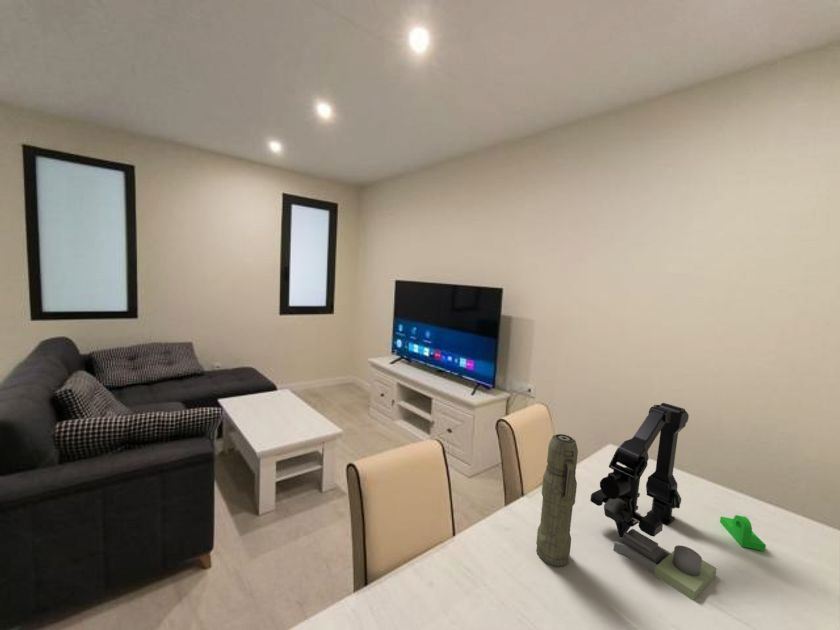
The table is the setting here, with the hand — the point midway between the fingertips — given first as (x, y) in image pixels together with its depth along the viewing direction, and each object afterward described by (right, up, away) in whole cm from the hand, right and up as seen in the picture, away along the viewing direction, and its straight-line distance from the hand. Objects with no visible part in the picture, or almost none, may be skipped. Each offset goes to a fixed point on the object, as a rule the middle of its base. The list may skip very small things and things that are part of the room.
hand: (621, 537), depth 108 cm
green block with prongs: (+7, -3, -7) cm, 11 cm away
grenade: (-24, -1, -7) cm, 25 cm away
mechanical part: (+43, -4, +7) cm, 44 cm away
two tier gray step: (+3, -2, -5) cm, 6 cm away
